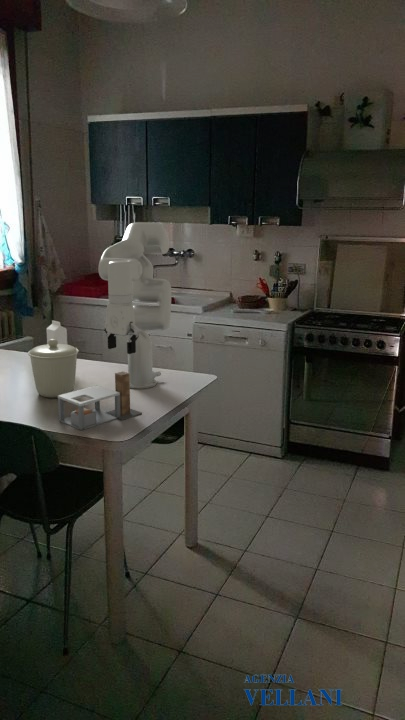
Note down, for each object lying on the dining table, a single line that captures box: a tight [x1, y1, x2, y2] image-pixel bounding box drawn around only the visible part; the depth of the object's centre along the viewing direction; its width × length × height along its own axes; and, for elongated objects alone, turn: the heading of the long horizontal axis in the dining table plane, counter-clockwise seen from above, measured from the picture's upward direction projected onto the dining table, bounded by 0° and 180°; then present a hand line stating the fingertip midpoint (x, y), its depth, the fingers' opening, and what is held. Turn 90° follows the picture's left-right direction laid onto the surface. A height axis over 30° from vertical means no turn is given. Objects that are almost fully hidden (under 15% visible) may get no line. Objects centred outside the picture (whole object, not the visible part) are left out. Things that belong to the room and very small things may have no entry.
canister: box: [27, 339, 80, 399], centre depth 217 cm, size 18×18×21 cm
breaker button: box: [75, 407, 91, 415], centre depth 189 cm, size 3×3×4 cm
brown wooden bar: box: [114, 370, 131, 415], centre depth 197 cm, size 3×3×14 cm
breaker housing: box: [57, 384, 120, 431], centre depth 192 cm, size 16×12×9 cm
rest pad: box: [107, 408, 143, 421], centre depth 199 cm, size 9×9×1 cm
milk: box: [46, 319, 68, 345], centre depth 245 cm, size 6×6×22 cm
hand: (121, 350), depth 194 cm, fingers open, 9 cm apart
